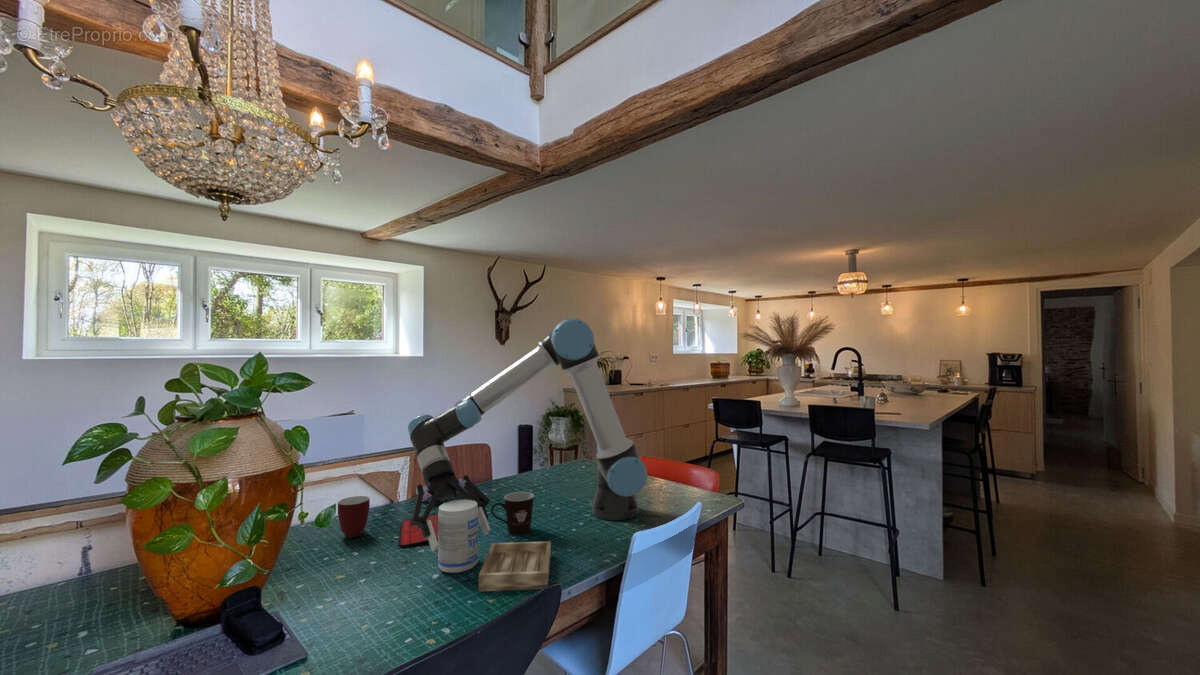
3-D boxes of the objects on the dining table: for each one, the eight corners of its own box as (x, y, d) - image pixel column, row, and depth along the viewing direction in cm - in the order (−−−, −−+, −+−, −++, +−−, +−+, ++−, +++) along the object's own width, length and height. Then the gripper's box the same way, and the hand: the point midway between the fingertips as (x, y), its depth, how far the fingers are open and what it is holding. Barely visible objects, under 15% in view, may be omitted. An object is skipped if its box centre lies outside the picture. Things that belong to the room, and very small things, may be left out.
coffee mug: (537, 525, 139) (537, 492, 139) (529, 537, 130) (529, 501, 131) (499, 524, 140) (499, 491, 140) (489, 535, 131) (489, 500, 132)
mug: (339, 530, 136) (339, 496, 137) (369, 525, 140) (369, 492, 140) (336, 543, 127) (336, 506, 127) (369, 538, 130) (369, 502, 131)
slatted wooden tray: (550, 555, 119) (550, 541, 119) (547, 589, 102) (547, 572, 102) (492, 556, 118) (492, 543, 118) (478, 591, 101) (478, 575, 101)
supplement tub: (477, 572, 110) (477, 509, 110) (435, 576, 108) (435, 513, 108) (478, 554, 119) (478, 497, 120) (440, 558, 117) (440, 500, 118)
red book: (454, 509, 148) (460, 533, 129) (454, 516, 148) (460, 541, 129) (400, 518, 142) (397, 545, 123) (400, 526, 142) (398, 553, 123)
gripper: (473, 466, 134) (501, 534, 123) (383, 484, 117) (406, 564, 105) (483, 451, 130) (512, 519, 119) (391, 466, 113) (415, 547, 102)
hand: (462, 540), depth 112 cm, fingers open, 13 cm apart
